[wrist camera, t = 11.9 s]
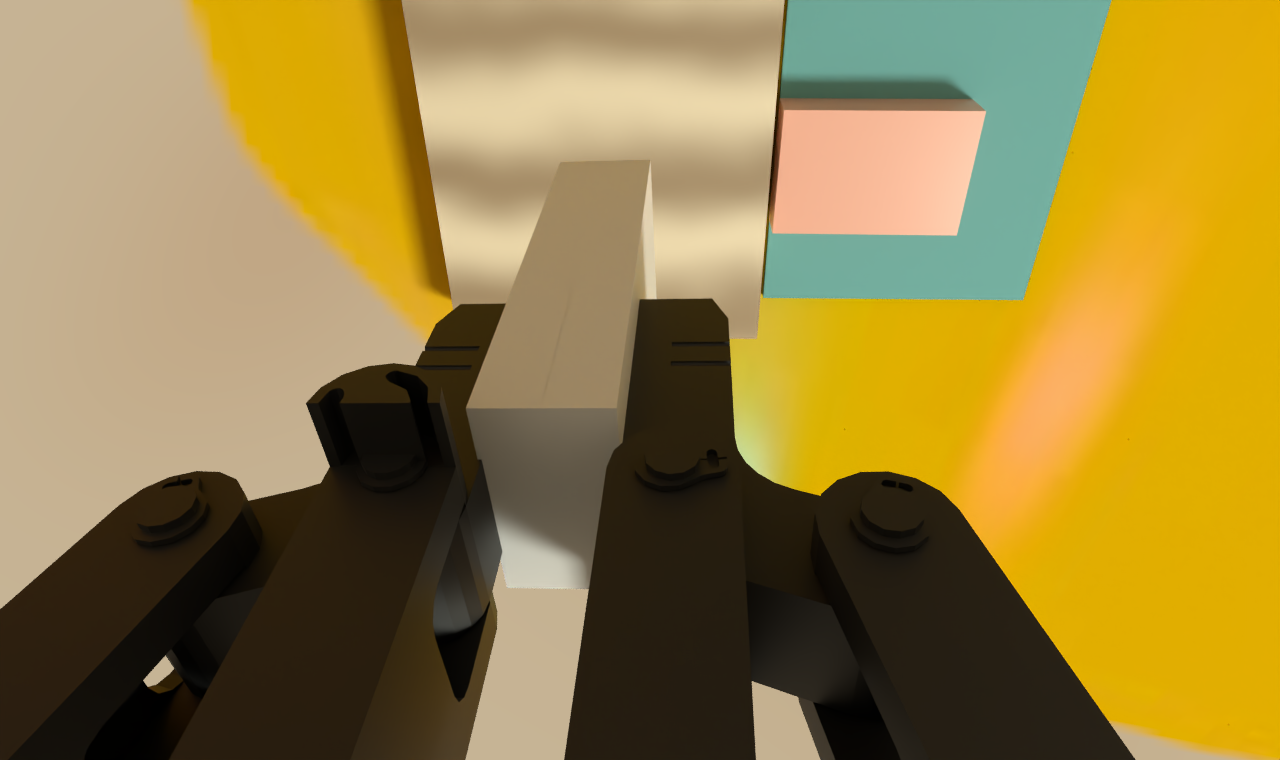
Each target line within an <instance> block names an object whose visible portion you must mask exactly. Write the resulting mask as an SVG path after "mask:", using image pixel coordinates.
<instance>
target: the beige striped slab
mask: <svg viewBox="0 0 1280 760" xmlns="http://www.w3.org/2000/svg"><path fill="white" fill-rule="evenodd" d="M784 1H785V0H402V6H403V12H404V18H405V24H406V30H407V36H408V42H409V48H410V54H411V60H412V66H413V72H414V78H415V84H416V90H417V96H418V102H419V108H420V114H421V120H422V126H423V131H424V137H425V143H426V149H427V155H428V161H429V167H430V173H431V179H432V185H433V191H434V197H435V203H436V209H437V215H438V221H439V227H440V233H441V239H442V245H443V251H444V257H445V263H446V269H447V274H448V280H449V286H450V292H451V298H452V304H453V310H454V309H455V308H456V307H458V306H459V305H460V304H503V303H506V302H507V300H508V297H509V295H510V292H511V289H512V287H513V284H514V281H515V279H516V276H517V274H518V271H519V268H520V266H521V263H522V261H523V258H524V255H525V253H526V250H527V248H528V245H529V242H530V240H531V237H532V235H533V232H534V229H535V227H536V224H537V222H538V219H539V216H540V214H541V211H542V209H543V206H544V203H545V201H546V198H547V196H548V193H549V190H550V188H551V185H552V182H553V180H554V177H555V175H556V172H557V169H558V167H559V164H560V162H582V161H621V160H651V182H652V205H653V228H654V251H655V274H656V297H657V299H702V298H712V299H713V300H714V301H715V303H716V304H717V305H718V306H719V308H720V309H721V310H722V311H723V312H724V314H725V315H726V316H727V317H728V321H729V338H731V339H757V331H758V319H759V306H760V294H761V282H762V270H763V257H764V245H765V233H766V221H767V209H768V196H769V184H770V172H771V160H772V147H773V135H774V123H775V111H776V98H777V86H778V74H779V62H780V50H781V37H782V25H783V13H784Z"/></svg>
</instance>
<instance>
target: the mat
mask: <svg viewBox="0 0 1280 760" xmlns="http://www.w3.org/2000/svg"><path fill="white" fill-rule="evenodd" d="M1110 3H1111V0H788V2H787V13H786V25H785V37H784V49H783V61H782V73H781V85H780V97H779V99H780V98H843V99H973V100H974V101H975V102H976V103H978V104H979V105H980V106H981V107H982V108H983V109H984V110H985V111H986V114H985V118H984V123H983V127H982V131H981V135H980V140H979V144H978V148H977V152H976V156H975V161H974V165H973V169H972V173H971V178H970V182H969V186H968V190H967V194H966V199H965V203H964V207H963V211H962V216H961V220H960V224H959V228H958V232H957V236H954V235H867V234H779V233H772V229H771V225H770V221H769V228H768V240H767V252H766V264H765V276H764V288H763V298H856V299H975V300H1023V298H1024V295H1025V291H1026V288H1027V285H1028V281H1029V278H1030V275H1031V271H1032V268H1033V264H1034V261H1035V258H1036V254H1037V251H1038V247H1039V244H1040V241H1041V237H1042V234H1043V230H1044V227H1045V224H1046V220H1047V217H1048V213H1049V210H1050V207H1051V203H1052V200H1053V196H1054V193H1055V190H1056V186H1057V183H1058V180H1059V176H1060V173H1061V169H1062V166H1063V163H1064V159H1065V156H1066V152H1067V149H1068V146H1069V142H1070V139H1071V135H1072V132H1073V129H1074V125H1075V122H1076V118H1077V115H1078V112H1079V108H1080V105H1081V101H1082V98H1083V95H1084V91H1085V88H1086V85H1087V81H1088V78H1089V74H1090V71H1091V68H1092V64H1093V61H1094V57H1095V54H1096V51H1097V47H1098V44H1099V40H1100V37H1101V34H1102V30H1103V27H1104V23H1105V20H1106V17H1107V13H1108V10H1109V6H1110ZM778 110H779V109H778Z"/></svg>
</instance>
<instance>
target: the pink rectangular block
mask: <svg viewBox="0 0 1280 760" xmlns="http://www.w3.org/2000/svg"><path fill="white" fill-rule="evenodd" d="M985 114H986V111H985V110H984V109H983V108H982V107H981V106H980V105H979V104H978V103H976V102H975V101H974V100H973V99H843V98H780V99H779V110H778V121H777V132H776V143H775V154H774V165H773V176H772V188H771V199H770V210H769V221H770V225H771V229H772V233H779V234H867V235H954V236H957V232H958V228H959V224H960V220H961V216H962V211H963V207H964V203H965V199H966V194H967V190H968V186H969V182H970V178H971V173H972V169H973V165H974V161H975V156H976V152H977V148H978V144H979V140H980V135H981V131H982V127H983V123H984V118H985Z"/></svg>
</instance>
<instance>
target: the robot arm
mask: <svg viewBox="0 0 1280 760" xmlns="http://www.w3.org/2000/svg"><path fill="white" fill-rule="evenodd" d="M306 405H307V407H308V410H309V412H310V415H311V418H312V420H313V423H314V426H315V428H316V431H317V434H318V436H319V439H320V441H321V444H322V447H323V449H324V452H325V455H326V457H327V460H328V462H329V465H330V468H329V470H328V471H327V473H326V475H325V477H324V479H323V480H322V482H321V483H320V484H317V485H313V486H310V487H307V488H304V489H300V490H295V491H291V492H286V493H282V494H277V495H273V496H268V497H264V498H259V499H255V500H251V501H248V500H247V497H246V495H245V493H244V491H243V490H242V488H241V487H240V485H239V483H238V481H237V480H236V479H234V478H232V477H230V476H227V475H225V474H223V473H221V472H203V471H196V472H191V473H186V474H182V475H177V476H173V477H169V478H167V479H164V480H162V481H160V482H157V483H155V484H153V485H151V486H148V487H146V488H144V489H142V490H140V491H139V492H138V493H136V494H135V495H133V496H132V497H131V498H129V499H127V500H126V501H125V502H123V503H122V504H120V505H119V506H118V507H117V508H115V509H114V510H113V511H112V512H111V513H110V514H109V515H107V516H106V517H105V518H104V519H103V520H102V521H101V522H99V524H97V525H96V526H95V527H94V528H93V529H91V530H90V531H89V532H88V533H87V534H86V535H85V536H83V538H81V539H80V540H79V541H78V542H77V543H75V544H74V545H73V546H72V547H71V548H70V549H69V550H67V551H66V552H65V553H64V554H63V555H62V556H61V557H60V558H58V559H57V560H56V561H55V562H54V563H53V564H52V565H50V566H49V567H48V568H47V569H46V570H45V571H44V572H42V573H41V574H40V575H39V576H38V577H37V578H36V579H34V580H33V581H32V582H31V583H30V584H29V585H28V586H26V587H25V588H24V589H23V590H22V591H21V592H20V593H19V594H17V595H16V596H15V597H14V598H13V599H12V600H10V601H9V602H8V603H7V604H6V605H5V606H4V607H3V608H1V609H0V760H465V758H466V754H467V750H468V746H469V742H470V737H471V734H472V729H473V725H474V721H475V717H476V713H477V709H478V705H479V701H480V696H481V692H482V688H483V684H484V680H485V675H486V672H487V667H488V663H489V659H490V655H491V650H492V647H493V643H494V638H495V634H496V630H497V609H496V605H495V601H494V597H493V593H492V590H493V586H494V582H495V578H496V574H497V571H498V566H499V563H500V559H501V564H502V568H503V572H504V576H505V581H506V585H507V588H549V589H550V588H551V589H552V588H553V589H589V592H588V599H587V606H586V612H585V620H584V626H583V633H582V640H581V648H580V655H579V662H578V668H577V675H576V682H575V689H574V696H573V703H572V710H571V716H570V723H569V731H568V738H567V745H566V752H565V759H564V760H756V755H755V736H754V718H753V700H752V683H751V682H752V681H754V682H757V683H759V684H762V685H765V686H768V687H771V688H774V689H777V690H780V691H783V692H786V693H789V694H792V695H794V696H797V697H798V698H799V703H800V705H801V708H802V711H803V714H804V716H805V719H806V722H807V724H808V727H809V730H810V732H811V735H812V737H813V740H814V743H815V746H816V748H817V751H818V754H819V757H820V759H821V760H1135V758H1134V757H1133V756H1132V754H1131V753H1130V751H1129V750H1128V748H1127V747H1126V746H1125V744H1124V743H1123V741H1122V740H1121V739H1120V737H1119V736H1118V734H1117V733H1116V731H1115V730H1114V729H1113V727H1112V726H1111V724H1110V723H1109V721H1108V720H1107V719H1106V717H1105V716H1104V714H1103V713H1102V712H1101V710H1100V709H1099V707H1098V706H1097V704H1096V703H1095V702H1094V700H1093V699H1092V697H1091V696H1090V695H1089V693H1088V692H1087V690H1086V689H1085V687H1084V686H1083V685H1082V683H1081V682H1080V680H1079V679H1078V678H1077V676H1076V675H1075V673H1074V672H1073V670H1072V669H1071V668H1070V666H1069V665H1068V663H1067V662H1066V660H1065V659H1064V658H1063V656H1062V655H1061V653H1060V652H1059V651H1058V649H1057V648H1056V646H1055V645H1054V643H1053V642H1052V641H1051V639H1050V638H1049V636H1048V635H1047V634H1046V632H1045V631H1044V629H1043V628H1042V626H1041V625H1040V624H1039V622H1038V621H1037V619H1036V618H1035V616H1034V615H1033V614H1032V612H1031V611H1030V609H1029V608H1028V607H1027V605H1026V604H1025V602H1024V601H1023V599H1022V598H1021V597H1020V595H1019V594H1018V592H1017V591H1016V590H1015V588H1014V587H1013V585H1012V584H1011V582H1010V581H1009V580H1008V578H1007V577H1006V575H1005V574H1004V573H1003V571H1002V570H1001V568H1000V567H999V565H998V564H997V563H996V561H995V560H994V558H993V557H992V555H991V554H990V553H989V551H988V550H987V548H986V547H985V546H984V544H983V543H982V541H981V540H980V538H979V537H978V536H977V534H976V533H975V531H974V530H973V529H972V527H971V526H970V524H969V523H968V521H967V520H966V519H965V517H964V516H963V514H962V513H961V512H960V510H959V509H958V508H957V507H956V506H955V505H954V504H953V503H952V502H951V501H950V500H949V499H948V498H947V497H946V496H945V495H944V494H943V493H942V492H941V491H939V490H937V489H935V488H933V487H932V486H930V485H928V484H926V483H924V482H922V481H920V480H918V479H916V478H913V477H909V476H904V475H900V474H896V473H892V472H860V473H857V474H854V475H851V476H848V477H845V478H842V479H839V480H837V481H836V482H835V483H833V484H832V485H831V486H830V487H829V488H828V489H826V490H825V491H824V492H823V493H822V494H821V496H818V495H814V494H810V493H806V492H802V491H798V490H794V489H791V488H788V487H785V486H782V485H780V484H777V483H774V482H772V481H770V480H769V479H767V478H765V477H763V476H762V475H760V474H758V473H757V472H756V471H755V470H754V469H753V468H751V467H750V466H749V465H748V464H747V463H746V462H745V460H744V459H743V457H742V456H741V454H740V453H739V451H738V449H737V445H736V440H735V432H734V414H733V395H732V377H731V358H730V340H729V321H728V317H727V316H726V315H725V314H724V312H723V311H722V310H721V309H720V308H719V306H718V305H717V304H716V303H715V301H714V300H713V299H712V298H702V299H657V297H656V274H655V251H654V228H653V205H652V182H651V160H621V161H582V162H560V164H559V167H558V169H557V172H556V175H555V177H554V180H553V182H552V185H551V188H550V190H549V193H548V196H547V198H546V201H545V203H544V206H543V209H542V211H541V214H540V216H539V219H538V222H537V224H536V227H535V229H534V232H533V235H532V237H531V240H530V242H529V245H528V248H527V250H526V253H525V255H524V258H523V261H522V263H521V266H520V268H519V271H518V274H517V276H516V279H515V281H514V284H513V287H512V289H511V292H510V295H509V297H508V300H507V302H506V303H503V304H460V305H459V306H458V307H456V308H455V309H454V310H453V311H451V312H450V313H449V314H448V315H447V316H445V317H444V318H443V319H442V320H440V321H439V322H438V323H437V324H436V325H435V327H434V329H433V331H432V333H431V335H430V337H429V339H428V341H427V343H426V345H425V351H422V353H421V355H420V357H419V359H418V361H417V364H416V366H412V365H403V364H395V363H393V364H384V365H375V366H368V367H365V368H362V369H359V370H356V371H353V372H350V373H346V374H344V375H341V376H340V377H338V378H336V379H335V380H333V381H331V382H330V383H328V384H326V385H325V386H323V387H321V388H320V389H319V390H318V391H317V392H316V393H315V394H314V395H313V396H312V397H311V399H310V400H309V401H308V402H307V403H306ZM165 655H166V657H167V658H168V660H169V661H170V662H171V664H172V666H173V667H174V670H173V671H172V672H171V673H170V674H169V675H168V676H167V677H165V678H164V679H163V680H162V681H160V682H159V683H158V684H157V685H154V686H150V687H147V686H146V684H145V683H144V681H143V680H144V679H145V677H146V676H147V675H148V674H149V673H150V672H151V671H152V669H154V667H155V666H156V665H157V664H158V663H159V662H160V661H161V659H162V658H163V657H164V656H165Z"/></svg>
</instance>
